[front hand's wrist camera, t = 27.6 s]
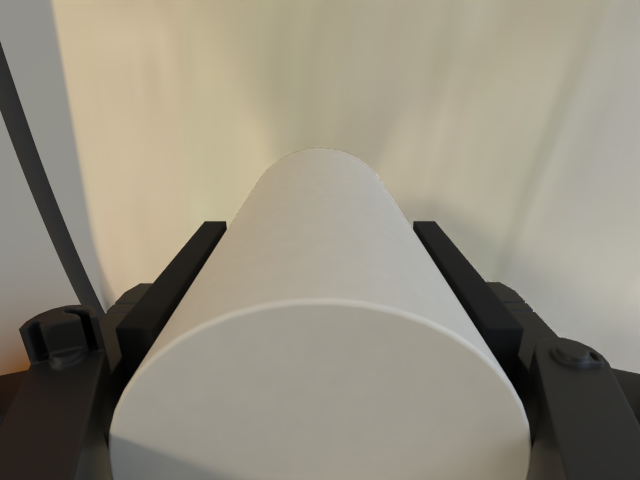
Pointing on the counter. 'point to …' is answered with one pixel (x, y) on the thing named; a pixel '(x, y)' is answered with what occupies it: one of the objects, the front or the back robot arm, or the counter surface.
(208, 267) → the canister
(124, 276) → the counter surface
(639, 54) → the counter surface
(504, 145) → the counter surface
